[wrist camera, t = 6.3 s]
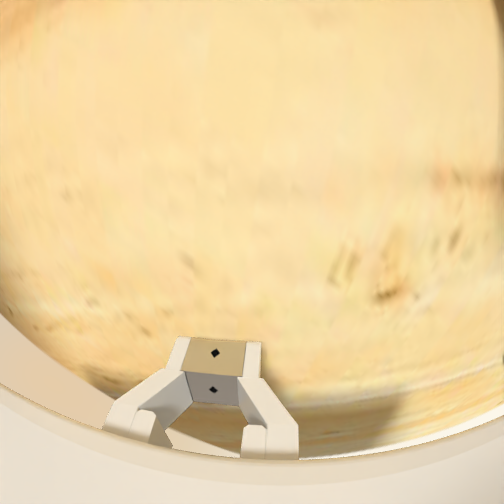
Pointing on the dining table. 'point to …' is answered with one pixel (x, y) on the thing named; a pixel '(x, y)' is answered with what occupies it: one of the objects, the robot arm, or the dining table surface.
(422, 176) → the dining table surface
